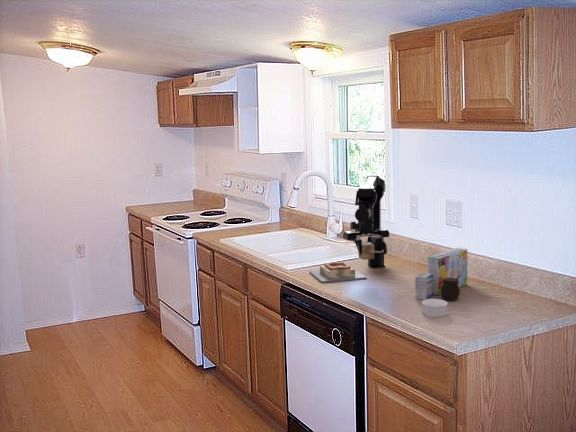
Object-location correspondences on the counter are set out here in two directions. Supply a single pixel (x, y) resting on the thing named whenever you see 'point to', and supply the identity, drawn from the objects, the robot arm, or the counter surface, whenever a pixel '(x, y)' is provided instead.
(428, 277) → the medicine box
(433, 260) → the snack box
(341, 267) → the socket plinth
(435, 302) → the ramekin
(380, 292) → the counter surface
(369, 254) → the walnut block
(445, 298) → the mate gourd
